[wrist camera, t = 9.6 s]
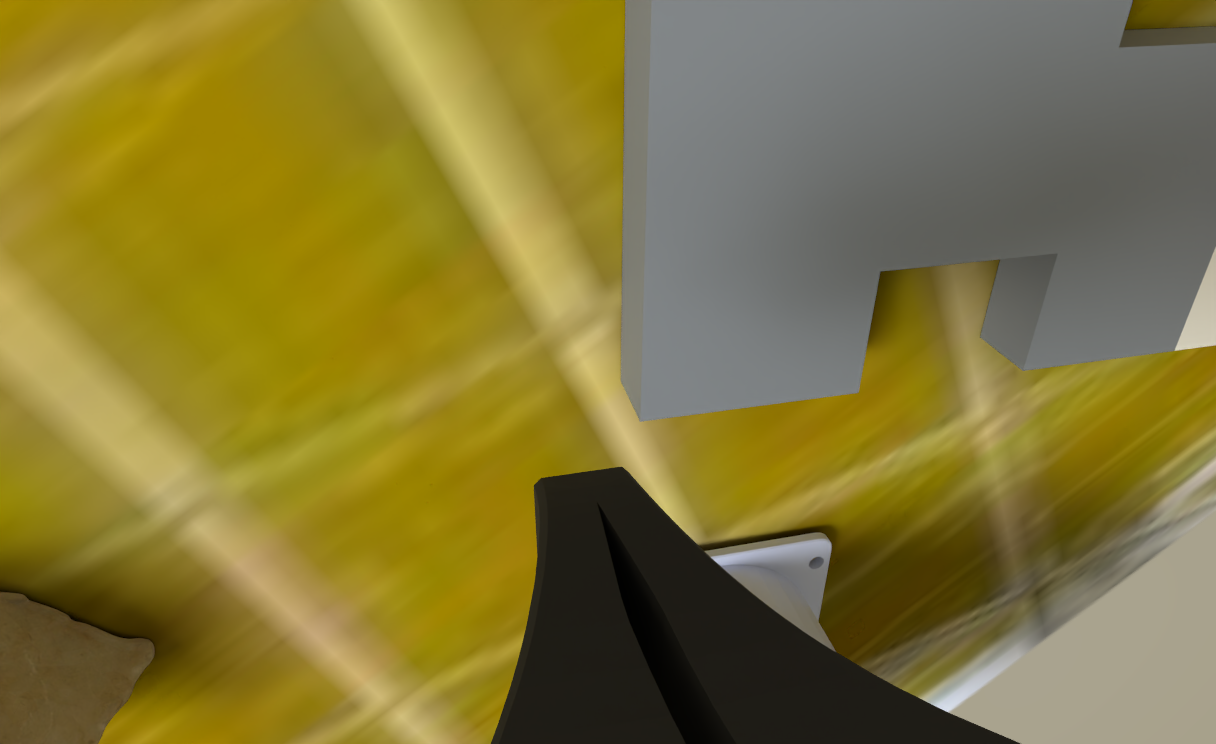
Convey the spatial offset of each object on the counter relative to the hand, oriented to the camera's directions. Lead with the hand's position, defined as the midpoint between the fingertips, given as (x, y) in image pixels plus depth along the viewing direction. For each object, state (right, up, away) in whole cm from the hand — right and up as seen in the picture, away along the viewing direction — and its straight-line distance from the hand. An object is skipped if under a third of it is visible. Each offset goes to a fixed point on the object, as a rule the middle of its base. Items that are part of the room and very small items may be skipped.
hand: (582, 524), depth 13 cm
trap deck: (+12, +8, +9) cm, 17 cm away
